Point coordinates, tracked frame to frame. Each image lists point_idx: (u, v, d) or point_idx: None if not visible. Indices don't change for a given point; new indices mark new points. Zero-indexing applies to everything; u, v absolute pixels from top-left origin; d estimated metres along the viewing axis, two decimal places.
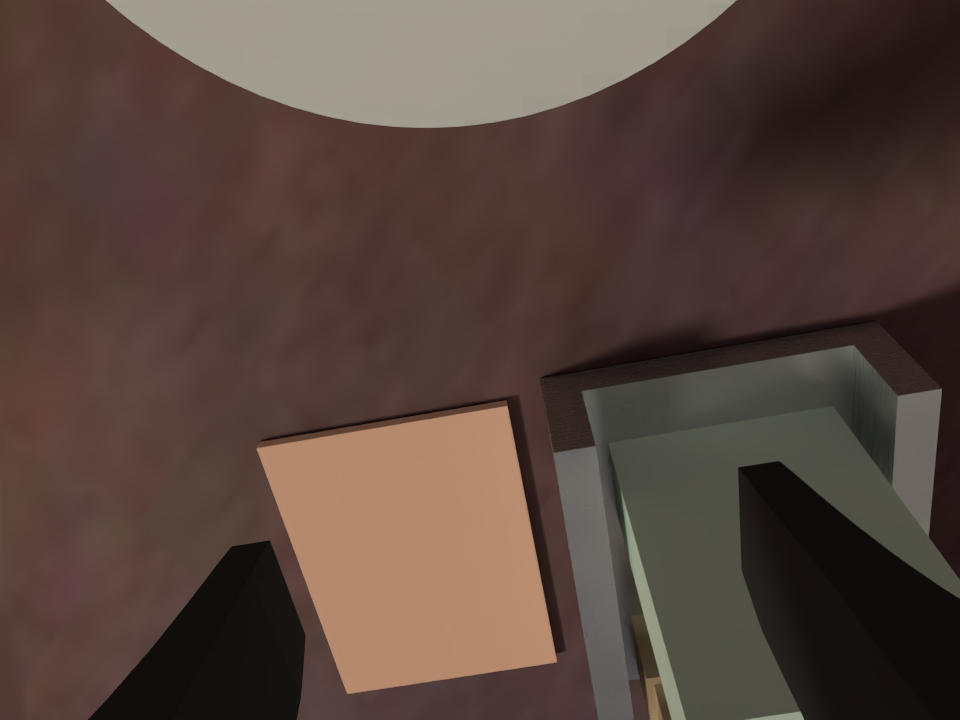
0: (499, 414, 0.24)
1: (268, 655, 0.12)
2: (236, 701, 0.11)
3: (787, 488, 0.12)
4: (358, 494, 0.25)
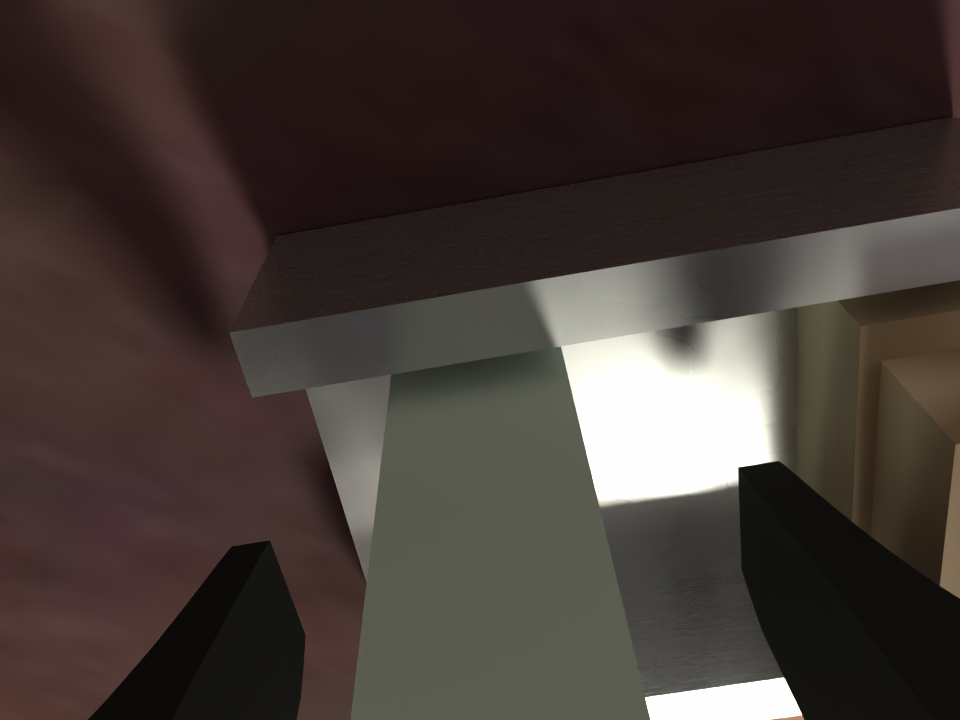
0: None
1: (268, 655, 0.12)
2: (236, 701, 0.11)
3: (787, 488, 0.12)
4: None
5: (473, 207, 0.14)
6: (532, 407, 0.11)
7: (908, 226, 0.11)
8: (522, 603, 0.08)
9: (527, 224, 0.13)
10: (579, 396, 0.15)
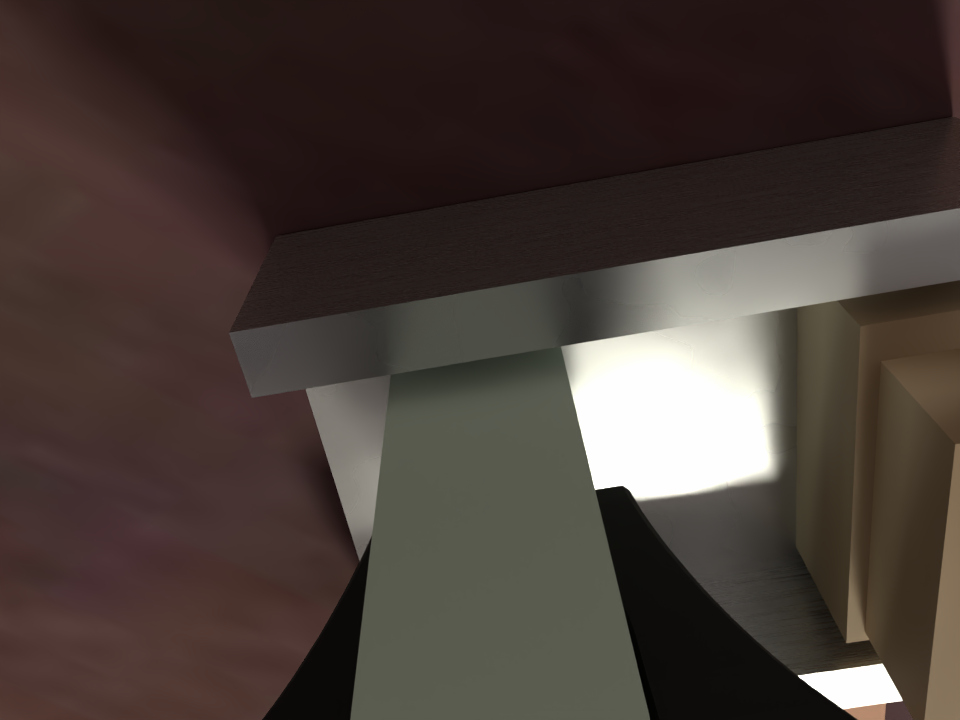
0: None
1: None
2: None
3: (618, 514, 0.12)
4: None
5: (473, 207, 0.14)
6: (532, 407, 0.11)
7: (907, 226, 0.11)
8: (522, 603, 0.08)
9: (526, 224, 0.13)
10: (579, 396, 0.15)
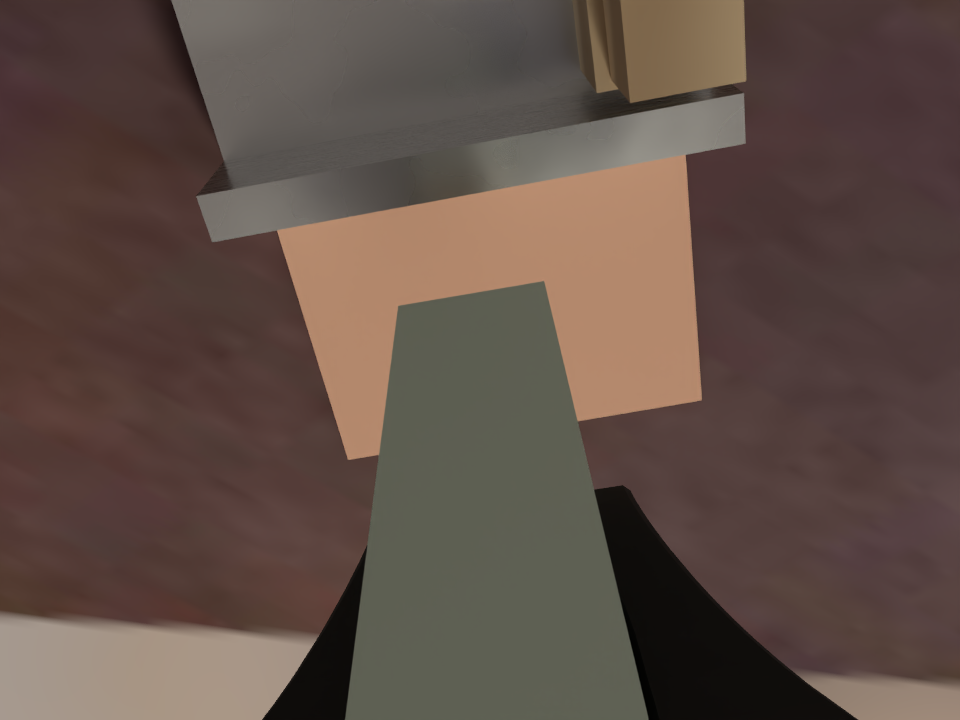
0: (287, 237, 0.21)
1: None
2: None
3: (618, 514, 0.12)
4: None
5: None
6: (526, 376, 0.12)
7: None
8: (514, 543, 0.09)
9: None
10: None
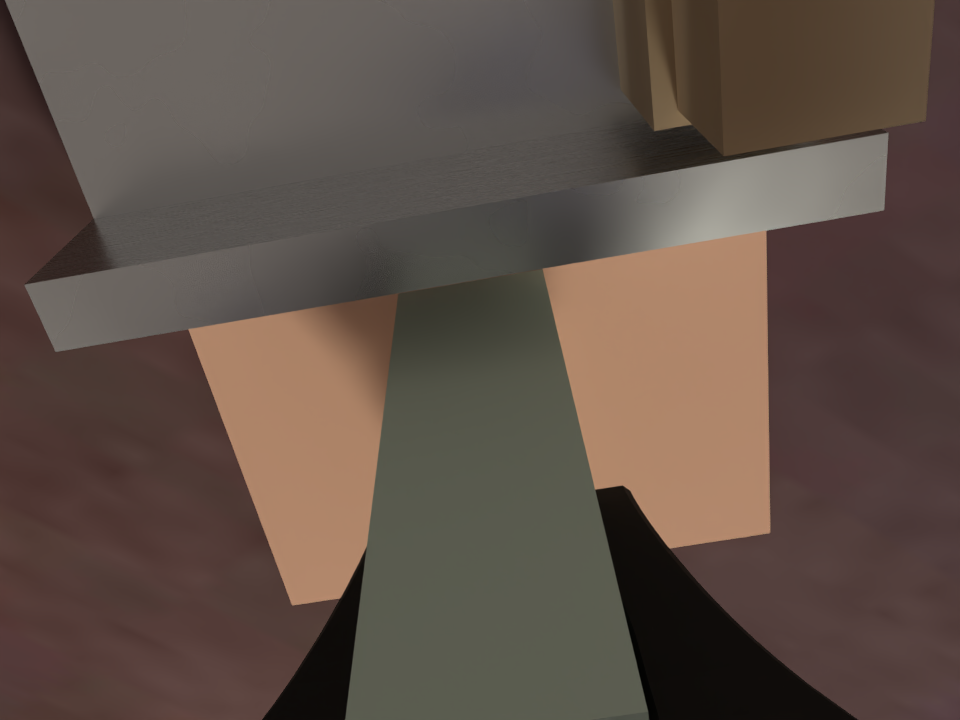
0: None
1: None
2: None
3: (618, 514, 0.12)
4: (364, 502, 0.17)
5: None
6: (525, 362, 0.12)
7: None
8: (513, 524, 0.09)
9: None
10: None
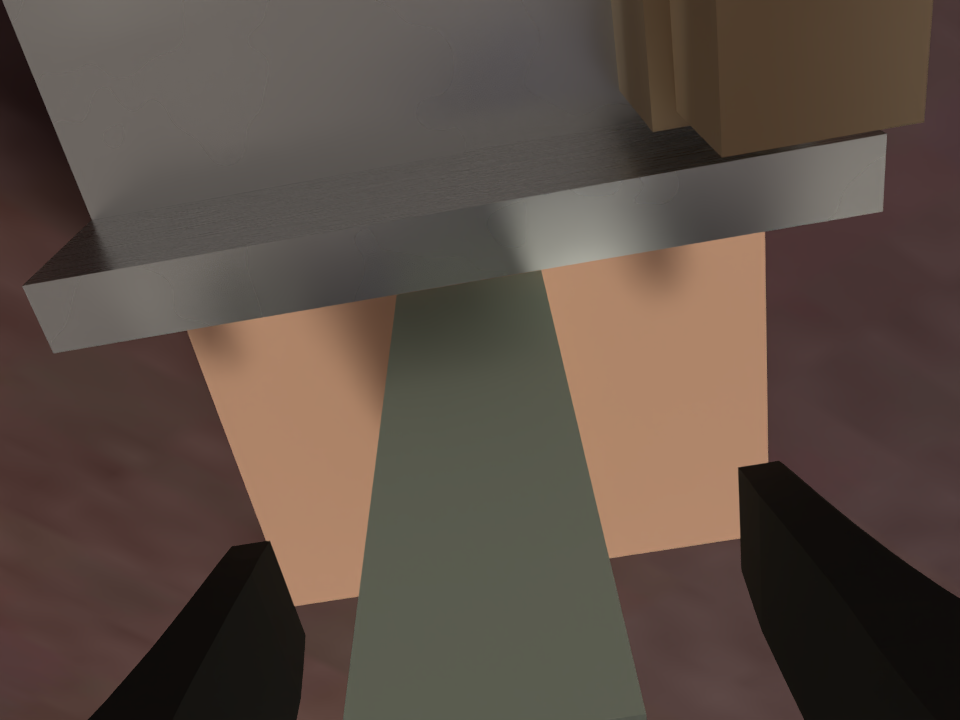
0: None
1: (268, 655, 0.12)
2: (236, 701, 0.11)
3: (787, 488, 0.12)
4: (362, 503, 0.17)
5: None
6: (522, 363, 0.12)
7: None
8: (512, 526, 0.09)
9: None
10: None
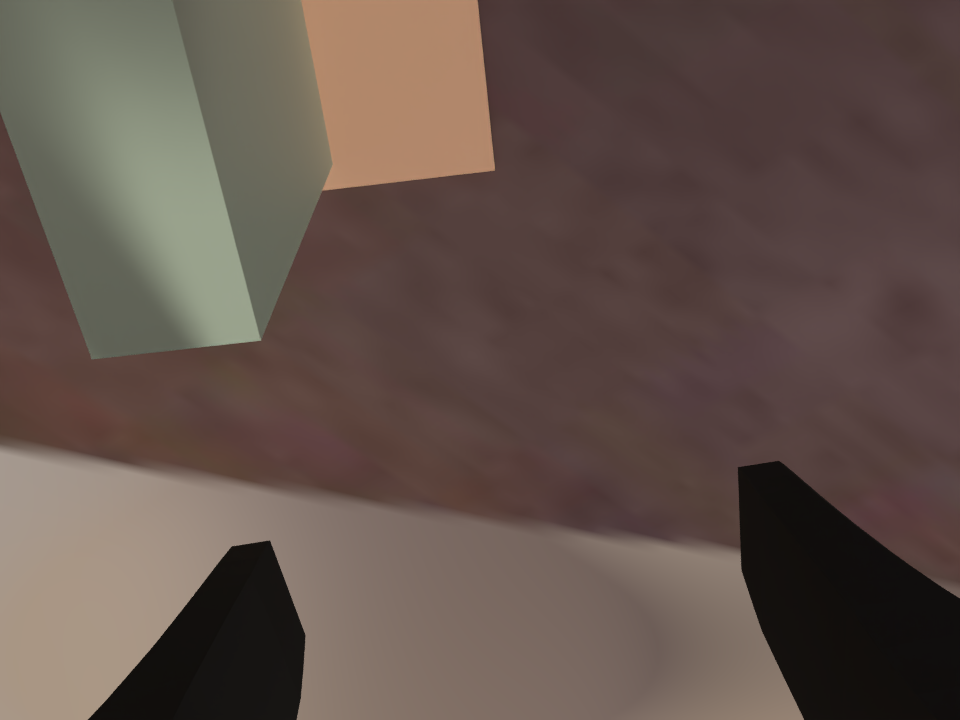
0: None
1: (268, 655, 0.12)
2: (236, 701, 0.11)
3: (787, 488, 0.12)
4: None
5: None
6: None
7: None
8: None
9: None
10: None
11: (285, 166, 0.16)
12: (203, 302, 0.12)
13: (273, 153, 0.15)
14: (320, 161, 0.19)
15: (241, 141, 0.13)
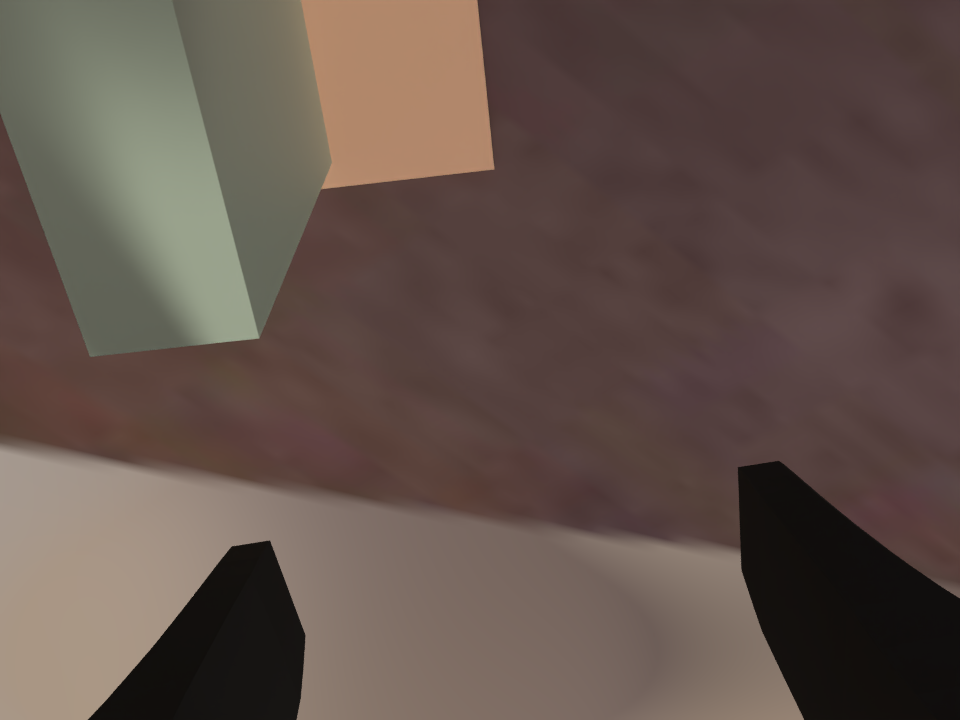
0: None
1: (268, 655, 0.12)
2: (236, 701, 0.11)
3: (787, 488, 0.12)
4: None
5: None
6: None
7: None
8: None
9: None
10: None
11: (284, 164, 0.16)
12: (201, 300, 0.12)
13: (272, 151, 0.15)
14: (319, 159, 0.19)
15: (240, 138, 0.13)
